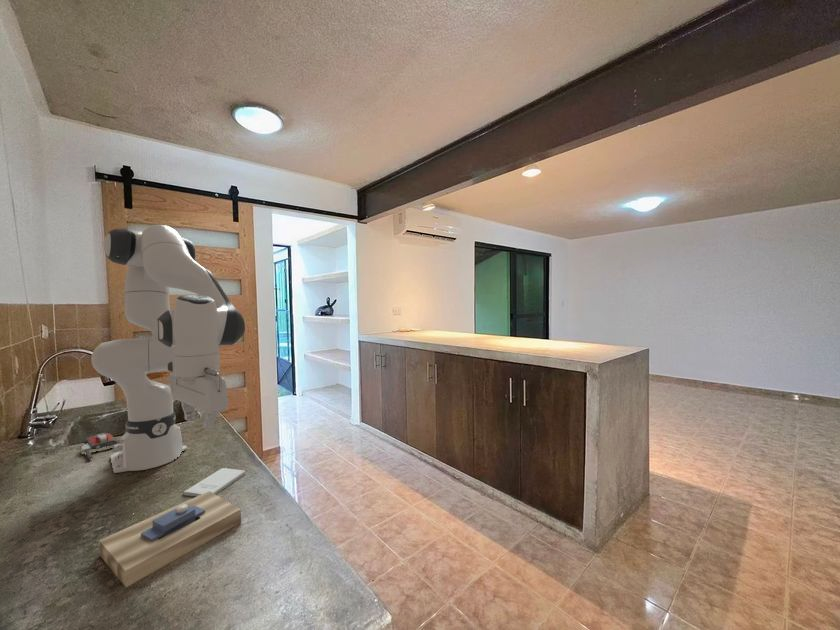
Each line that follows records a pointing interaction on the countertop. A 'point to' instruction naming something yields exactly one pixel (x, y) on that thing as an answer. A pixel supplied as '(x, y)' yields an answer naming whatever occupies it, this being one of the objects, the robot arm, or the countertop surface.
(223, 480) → the external hard drive
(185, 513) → the block
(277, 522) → the countertop surface
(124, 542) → the wooden board with hole
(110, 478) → the countertop surface
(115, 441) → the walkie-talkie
